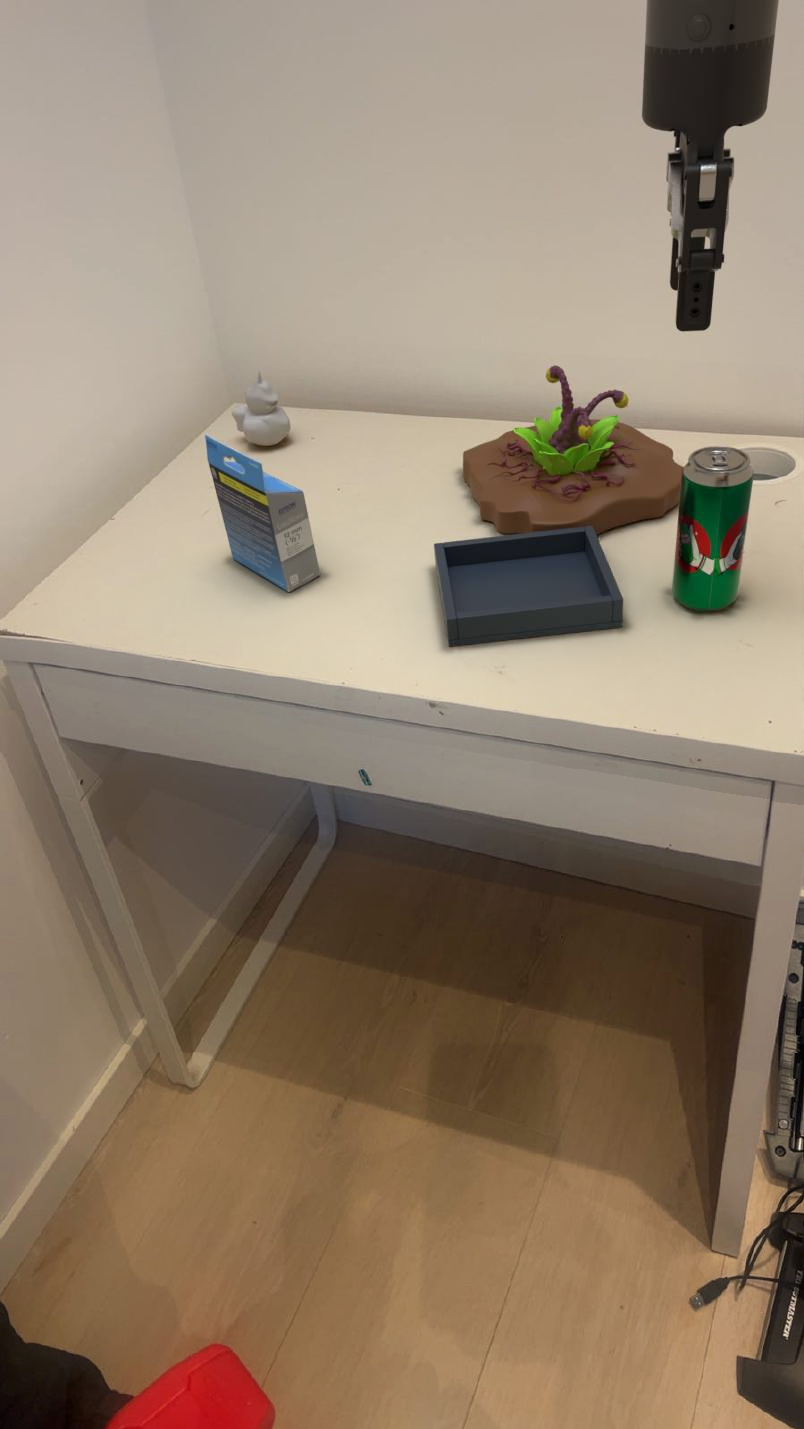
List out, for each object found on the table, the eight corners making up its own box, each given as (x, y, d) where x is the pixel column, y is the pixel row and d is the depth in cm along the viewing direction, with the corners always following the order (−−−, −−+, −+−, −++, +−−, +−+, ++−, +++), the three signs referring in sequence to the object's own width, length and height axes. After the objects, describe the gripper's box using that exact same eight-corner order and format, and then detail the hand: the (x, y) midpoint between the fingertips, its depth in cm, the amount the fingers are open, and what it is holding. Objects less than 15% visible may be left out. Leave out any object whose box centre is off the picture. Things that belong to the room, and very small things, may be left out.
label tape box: (322, 576, 91) (300, 445, 83) (285, 595, 89) (259, 463, 81) (264, 543, 96) (239, 417, 88) (228, 561, 94) (199, 434, 87)
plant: (607, 424, 109) (611, 317, 102) (718, 501, 94) (731, 382, 87) (432, 472, 104) (423, 362, 97) (520, 560, 90) (517, 439, 83)
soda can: (732, 579, 84) (749, 441, 77) (741, 614, 81) (761, 473, 73) (668, 581, 85) (679, 444, 78) (674, 616, 81) (687, 476, 74)
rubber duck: (280, 455, 111) (267, 382, 105) (226, 450, 113) (211, 379, 108) (302, 433, 114) (290, 362, 109) (249, 429, 116) (236, 359, 111)
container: (592, 551, 90) (592, 525, 88) (622, 627, 81) (623, 599, 79) (435, 569, 90) (433, 543, 88) (448, 646, 81) (446, 619, 79)
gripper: (791, 42, 56) (755, 343, 66) (761, 11, 67) (735, 273, 77) (648, 55, 57) (635, 347, 67) (642, 22, 68) (631, 279, 78)
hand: (688, 308), depth 72 cm, fingers open, 8 cm apart
